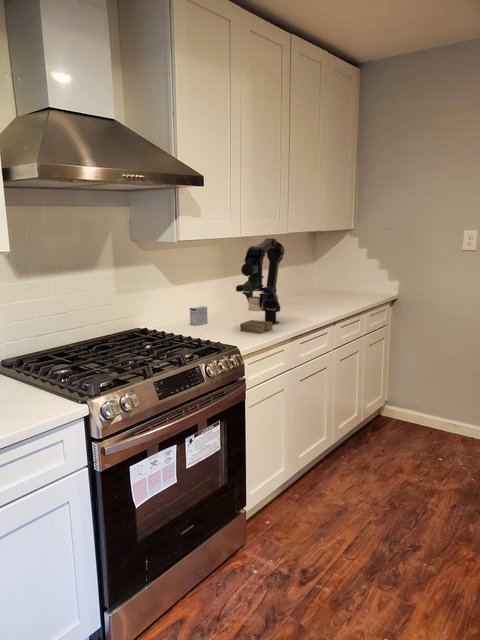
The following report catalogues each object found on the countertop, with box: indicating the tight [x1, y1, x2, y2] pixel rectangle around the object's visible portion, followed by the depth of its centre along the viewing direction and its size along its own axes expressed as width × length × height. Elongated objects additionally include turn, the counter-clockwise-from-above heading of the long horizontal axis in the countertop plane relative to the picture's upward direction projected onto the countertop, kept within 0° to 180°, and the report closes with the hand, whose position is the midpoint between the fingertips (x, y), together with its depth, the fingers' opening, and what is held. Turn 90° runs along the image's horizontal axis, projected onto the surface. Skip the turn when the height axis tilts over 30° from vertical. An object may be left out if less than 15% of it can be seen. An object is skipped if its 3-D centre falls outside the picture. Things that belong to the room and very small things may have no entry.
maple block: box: [248, 295, 263, 312], centre depth 239 cm, size 5×5×6 cm
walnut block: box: [239, 319, 273, 335], centre depth 241 cm, size 11×11×4 cm
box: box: [189, 305, 209, 327], centre depth 255 cm, size 8×4×9 cm, turn 136°
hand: (255, 307), depth 239 cm, fingers closed on maple block, 5 cm apart
